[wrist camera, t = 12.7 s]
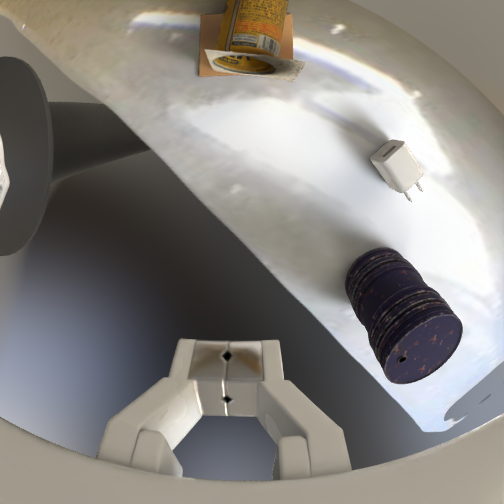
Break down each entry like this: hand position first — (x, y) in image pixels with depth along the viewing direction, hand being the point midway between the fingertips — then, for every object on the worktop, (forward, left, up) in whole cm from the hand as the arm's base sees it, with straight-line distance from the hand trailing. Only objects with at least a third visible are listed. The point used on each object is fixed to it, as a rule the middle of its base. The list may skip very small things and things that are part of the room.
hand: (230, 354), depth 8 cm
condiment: (+10, +7, -21) cm, 24 cm away
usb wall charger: (+13, -13, -25) cm, 31 cm away
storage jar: (+1, -22, -25) cm, 34 cm away
